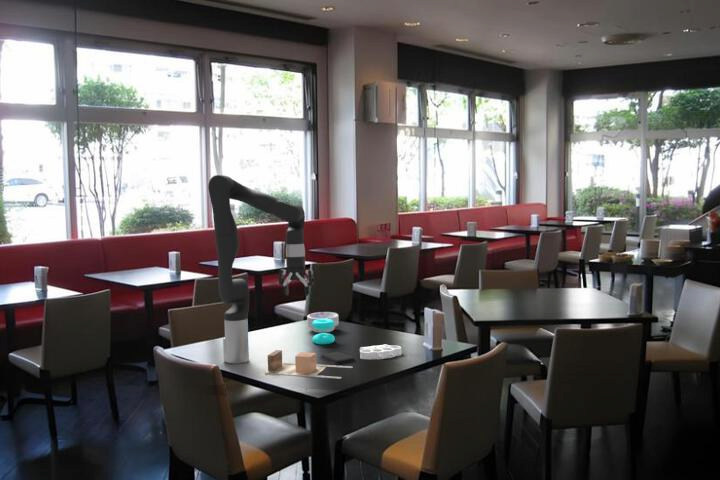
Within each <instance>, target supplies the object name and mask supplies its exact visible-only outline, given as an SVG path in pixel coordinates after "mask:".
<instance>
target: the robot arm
mask: <svg viewBox="0 0 720 480" xmlns="http://www.w3.org/2000/svg"><path fill="white" fill-rule="evenodd" d="M207 186H208V187H207V188H208V194H209V198H210V204H211V208H212V216H213V218H212V219H213V227H214V240H215V247H216V249H215V250H216V255H217V256H216V257H217V270H218V271H217V274H218V294H219V298H220V300H221V302H222V303H224V304H227V305H228V304H232V305H231V307H230V308H228V309H227V310H226V311H225V312H224V314H223V315H224V317H223V318H224V338H223V339H222V346H223V347H222V349H223V362H225V363H228V364H241V363H247V362H248V361H249V360H250V356H249V355H250V352H249V351H250V348H249V324H248V321H249V320H248V318H249V317H248V314H249V311H250V287H249V285H248V282H247V281H246V280H245V279H243V278H235V279H233V275H232V274H233V265H234V262H235V261H236V257H237V254H238V252H239V249H240V238H239V231H238V230H239V229H238V226H237V224H236V221H235V218H234V216H233V213H232V209H231V201H230V200H234V201H239V202H241V203H245V204H246V205H249V206H250V207H252V208H255V209H257V210H259V211H261V212H264V213H266V214H268V215H272V216H274V217H276V218H279V219H280V220H282V221H284V222H287V223H288V224H287V225H288V226H287V230H286V233H285V244H286V245H285V261H286V262H285V263H286V266H285V267H286V269H284V268H282V269H279V271H278V284H279V285H282V286H283V295H284V296H289V294H290V289H289V287H290V286H289V284H290V283H291V281H292V282H294V281H298V282H299V281H300V282H301V283H302V284H303V285H304V296H305V297H308V296H309V295H310V294H311V293H310V290H311V288H310V287H311V286H312V285H314V284H315V276H314V270H313V269H306V249H305V239H304V238H305V235H304V234H305V233H304V230H305V222H306V221H305V220H306V216H305V215H306V212H305V210H304V208H303V207H302V206H301V205H299V204H291V203H287V202H285V201H282V200H281V198H278V197H276V196H273V195H270V194H267V193H264V192H261V191H259V190H258V191H257V190H255V189H252V188H249V187H248V186H246V185H243V184H241V183H240V182H238V181H236V180H234V179H233V178H232V177H230V176H227V175H224V174H215V175H213V176H212V177H211V178H210V179H209V181H208V185H207ZM285 275H287V276H286V278H285ZM306 275H307V276H308V278H307V277H306Z"/></svg>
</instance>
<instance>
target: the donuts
mask: <svg viewBox="0 0 720 480" xmlns="http://www.w3.org/2000/svg"><path fill="white" fill-rule="evenodd" d="M312 326H313V327H314V328H316V329H320V330H325V329H330V328H332V327H333V326H334V321H333V320H331V319H317V320H314V321H313V322H312ZM335 340H336V338H335V336H334V334H331V333H329V332H328V333H317V334H315V335H313V337H312V343H314V344H316V345H329V344H332V343H334V342H335Z"/></svg>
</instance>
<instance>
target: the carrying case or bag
mask: <svg viewBox="0 0 720 480" xmlns="http://www.w3.org/2000/svg"><path fill="white" fill-rule="evenodd" d="M319 358H320V360H323V361H325V362H329V363H330V364H333V365H334V366H343V365H347V364H352V363H356V362H357V359H356V358H355V357H354V356H351V355H348V354H346V353H343V352H339V351H333V352H326V353H323V354H321V355H320V357H319Z"/></svg>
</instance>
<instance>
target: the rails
mask: <svg viewBox="0 0 720 480" xmlns="http://www.w3.org/2000/svg"><path fill="white" fill-rule="evenodd" d="M282 364H287V365H295V362H282ZM316 366H320V367H326V368H327V367H328V368H340V369H342V368H343V369H353V366H349V365H335V364H333V365H332V364H319V363H318V364H317V363H316ZM268 375H276V376H277V375H278V376H292V377H307V378H322V379H337V380H340V379H342V376H333V375H331V376H330V375H329V376H328V375H318V374H317V375H301V374H286V373H271V372H269V373H268Z"/></svg>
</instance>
